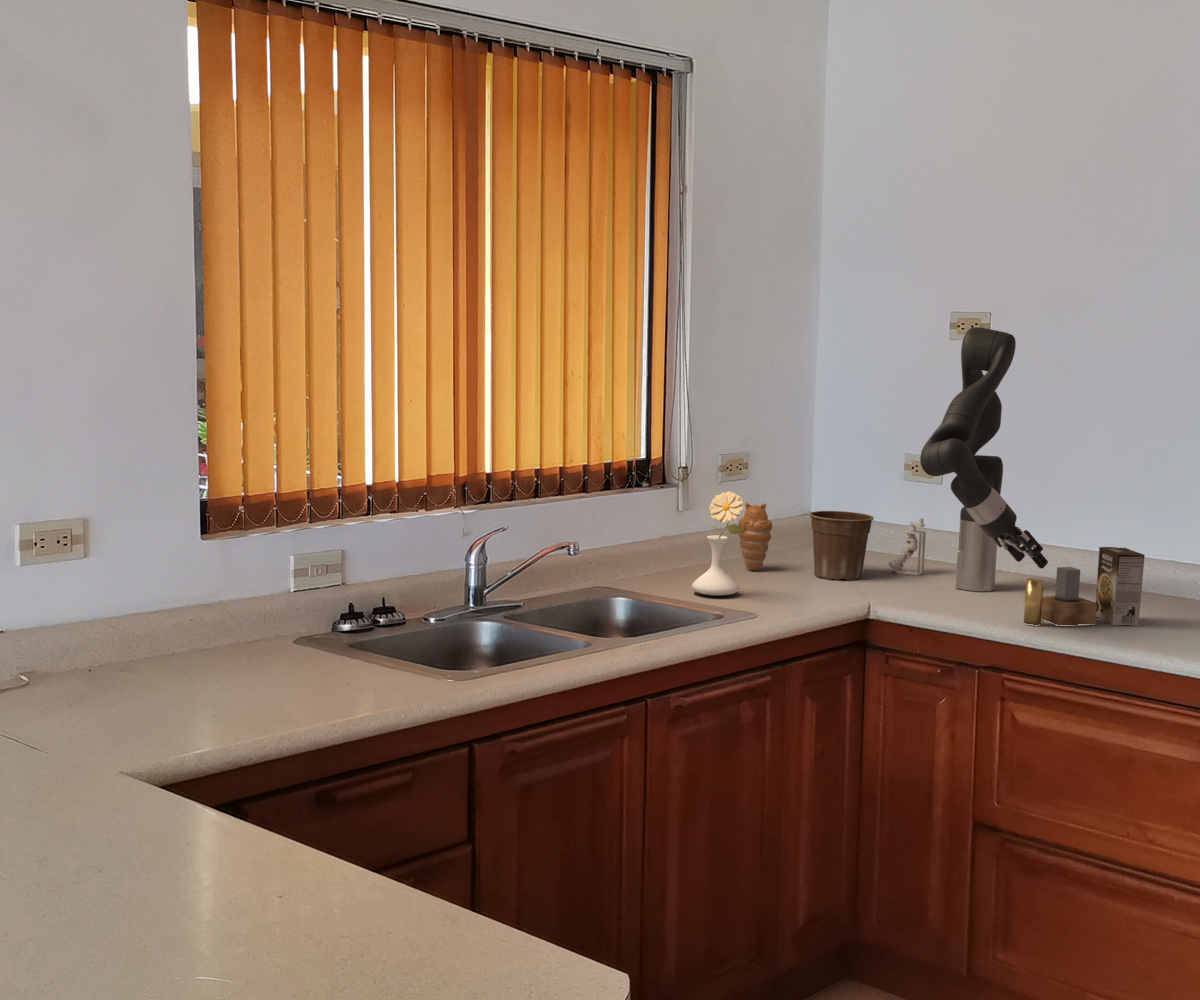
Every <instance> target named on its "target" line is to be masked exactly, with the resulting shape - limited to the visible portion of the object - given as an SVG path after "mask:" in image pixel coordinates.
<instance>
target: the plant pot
mask: <svg viewBox="0 0 1200 1000" xmlns="http://www.w3.org/2000/svg"><path fill="white" fill-rule="evenodd" d="M809 516H810V518H811V519H810V520H811V522H810V524H811V530H812V541H813V542H812V543H813V545H812V546H813V574H814V575H815V576H816V577H818V578H821V579H824V578H825V579H824V580H829V579H831V580H832V579H834V580H833V581H840V580H842V579H843V580H845V579H846V580H845V581H855V580H854V579H858V580H860V579H862V577H863V570H864V565H865V564H864V563H865V557H866V550H867V545H868V538H869V534H870V533H871V528H872V521H874V518H875V517H874V516H873V515H869V514H867V513H861V512H854V511H841V510H839V511H838V510H817V511H816V510H815V511H812V512H809Z"/></svg>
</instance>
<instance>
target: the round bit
mask: <svg viewBox="0 0 1200 1000" xmlns="http://www.w3.org/2000/svg"><path fill="white" fill-rule="evenodd" d="M1025 580H1026V581H1025V592H1024V593H1025V594H1024V595H1025V596H1024V611H1023V612H1024V613H1023V624H1024V623H1026V624H1033V625H1039V624H1041V625H1042V620H1041V615H1042V599H1043V596H1044V583H1045V582H1044V579H1042V578H1037V577H1027V578H1026V579H1025Z"/></svg>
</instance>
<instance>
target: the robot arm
mask: <svg viewBox="0 0 1200 1000" xmlns="http://www.w3.org/2000/svg"><path fill="white" fill-rule="evenodd" d="M1016 345H1017V344H1016V338H1015V336H1014V335H1013V334H1011V333H1008V332H1005V331H999V330H995V329H991V328H985V327H979V326H978V327H977V326H973V327H971V328H969V329H968V330H967V331H966V333H964V337H963V339H962V343H961V350H960V357H961V358H960V360H961V361H960V362H961V363H960V364H961V378H962V381H961V382H962V388H961V389H962V390H961V391H960V392H959V393H958V394H957V395H955V396H954V398H953V399H952V400H951V401H950V403H949V405H948V407H947V409H946V412H945V414H944V416H943V418H942V421H941V423H940V424H939V426H938V427H937V428H936V429H935V431H934V432H933V433H932V434H931V436H930V437H929V438H928V439H927V441H926V442H925V444H924V446H923V447H922V449H921V452H920V458H919V459H920V466H921V469H922V470H923V472H924V473H925V474H926V475H928V476H930V477H940V476H944V475H948V474H953V473H954V474H955V477H954V478H953V479H952V480H951V482H950V491H951V492H952V494H954V496H955V498H957V499H958V501H959V502H960V503H961V504H962V506H963V507H962V508H961V510H960V514H959V531H958V532H959V535H958V549H957V556H956V557H957V560H956V578H955V589H957V590H958V589H959V590H965V591H970V592H991V591H995V586H996V574H997V573H996V569H997V554H998V548H1003V549H1004V550H1005V551H1008V553H1009V554H1010V556H1011V557H1012V558H1013V559H1014V560H1015V561H1016V562H1018V563H1019V562H1020V563H1021V561H1022V560H1023V559H1024V558H1025V557H1026V555H1027V556H1028V557H1029V558H1031V560H1032V562H1033V563H1034V564H1035V565H1036V566H1037V567H1038V568H1039V569H1044V568H1045V567H1046V566H1047V565H1048V563H1049V561H1048V559H1047V558H1046V557H1045V556H1044V555H1043V554H1042V551H1044V548H1043V546H1042V545H1041V544H1040V543H1039V542H1038V541H1037V540H1036V539H1035V537H1034V536H1033V535H1032V534H1031V533H1030V531H1028V529H1025V530H1024V531H1023V529H1021V528H1020V527H1019V526H1016V523H1017V514H1016V513H1015V511H1014V510H1013V509H1012V508H1011V507H1010V505H1009V504H1008V503H1007V501H1006V500H1004V498H1003V497H1002V495H1001V492H1002V484H1003V474H1004V463H1003V459H1002V458H1001V457H1000V456H998V455H997V456H996V455H983V454H982V455H979V454H977V453H978V451H979V450H980V449H982V448H983V447H984V446H985V445H986V444H988V443H989V442H990V441H991V440H992V439H993V438H994V437H995V436H996V435H997V433H998V432H999V430H1000V428H1001V424H1002V423H1001V422H1002V413H1003V412H1002V410H1003V409H1002V407H1003V405H1002V402H1001V398H1000V397H999V395H998V392H997V389H998V387H999V386H1000V384H1001V382H1002V381H1003V379H1004V377H1005V376H1006V374H1007V373H1008V371H1009V369H1010V367H1011V364H1012V362H1013V359H1014V357H1015V352H1016ZM983 371H984V372H986V373H985V374H984V373H983ZM1021 545H1022V546H1021Z"/></svg>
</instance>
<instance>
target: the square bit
mask: <svg viewBox="0 0 1200 1000" xmlns="http://www.w3.org/2000/svg"><path fill="white" fill-rule="evenodd" d="M1080 581H1081V569H1079V568H1075V567H1072V566H1061V567H1056V578H1055V593H1054V594H1055V599H1056V600H1059V601H1062V602H1078V599H1079V596H1080Z"/></svg>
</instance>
